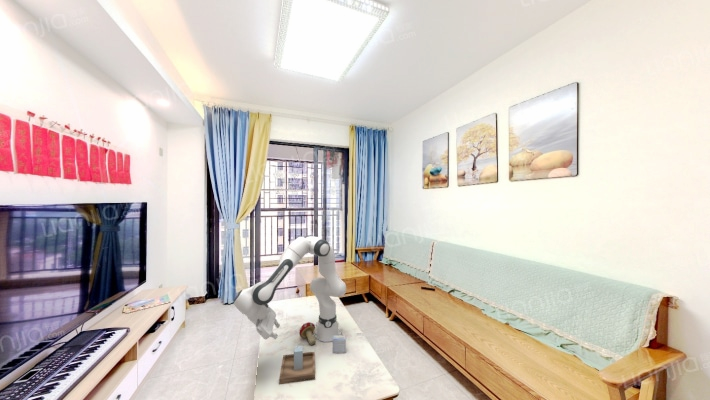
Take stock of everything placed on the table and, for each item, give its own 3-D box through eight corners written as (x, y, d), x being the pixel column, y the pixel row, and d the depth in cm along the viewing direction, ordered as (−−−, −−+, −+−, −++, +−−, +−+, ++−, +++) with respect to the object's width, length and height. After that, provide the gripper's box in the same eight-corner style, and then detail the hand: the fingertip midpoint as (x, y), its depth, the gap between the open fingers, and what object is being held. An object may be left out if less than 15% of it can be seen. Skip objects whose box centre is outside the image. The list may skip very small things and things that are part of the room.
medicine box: (345, 348, 146) (345, 335, 146) (345, 353, 142) (345, 339, 142) (333, 348, 146) (333, 335, 146) (332, 353, 141) (332, 339, 141)
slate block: (294, 364, 130) (294, 346, 130) (302, 363, 131) (302, 345, 131) (293, 370, 126) (294, 352, 126) (302, 369, 127) (302, 351, 127)
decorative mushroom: (317, 333, 147) (308, 315, 158) (302, 346, 143) (294, 327, 155) (324, 341, 153) (315, 323, 165) (309, 353, 150) (301, 334, 161)
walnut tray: (283, 359, 136) (283, 355, 136) (314, 356, 139) (314, 351, 139) (279, 384, 118) (279, 379, 118) (315, 379, 121) (315, 374, 121)
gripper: (260, 322, 114) (280, 340, 116) (267, 301, 134) (284, 317, 136) (249, 331, 113) (270, 349, 116) (258, 309, 133) (275, 325, 136)
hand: (277, 331), depth 126 cm, fingers open, 8 cm apart
